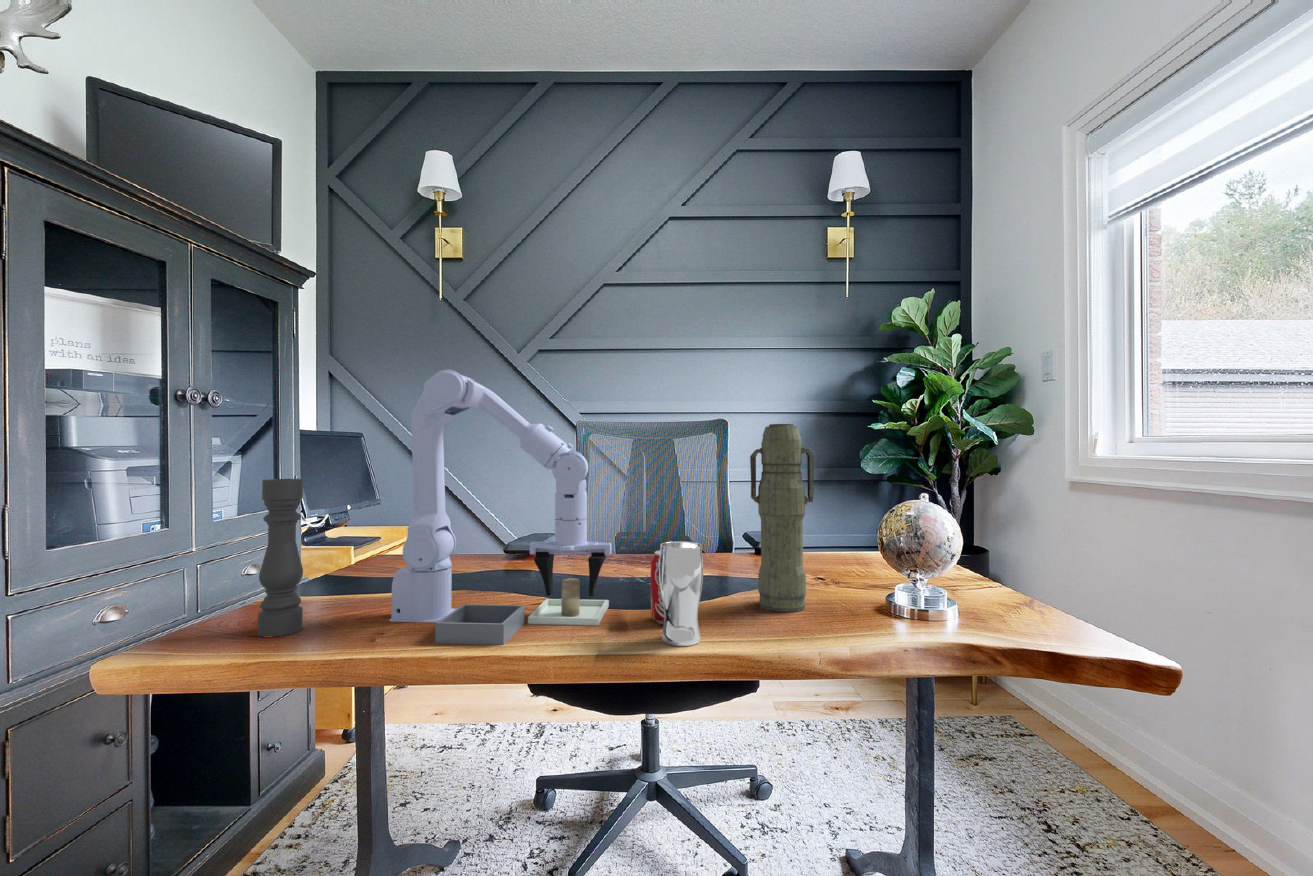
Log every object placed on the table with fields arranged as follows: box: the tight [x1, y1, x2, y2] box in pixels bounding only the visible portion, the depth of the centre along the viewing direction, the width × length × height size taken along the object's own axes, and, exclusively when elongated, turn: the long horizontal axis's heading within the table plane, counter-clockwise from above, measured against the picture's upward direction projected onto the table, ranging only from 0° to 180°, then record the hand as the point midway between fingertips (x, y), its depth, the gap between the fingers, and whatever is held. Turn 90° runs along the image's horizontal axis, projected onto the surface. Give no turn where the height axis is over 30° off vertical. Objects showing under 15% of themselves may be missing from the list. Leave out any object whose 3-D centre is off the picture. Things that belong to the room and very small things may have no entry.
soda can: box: [650, 549, 664, 626], centre depth 99 cm, size 7×7×12 cm
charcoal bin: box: [434, 604, 525, 646], centre depth 91 cm, size 11×11×4 cm
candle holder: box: [257, 478, 304, 637], centre depth 93 cm, size 6×6×25 cm
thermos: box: [749, 423, 814, 613], centre depth 109 cm, size 9×12×35 cm
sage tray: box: [527, 598, 610, 626], centre depth 101 cm, size 12×12×2 cm
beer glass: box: [659, 540, 704, 647], centre depth 89 cm, size 7×7×15 cm
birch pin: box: [561, 577, 581, 617], centre depth 101 cm, size 3×3×6 cm
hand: (570, 594), depth 101 cm, fingers open, 7 cm apart
